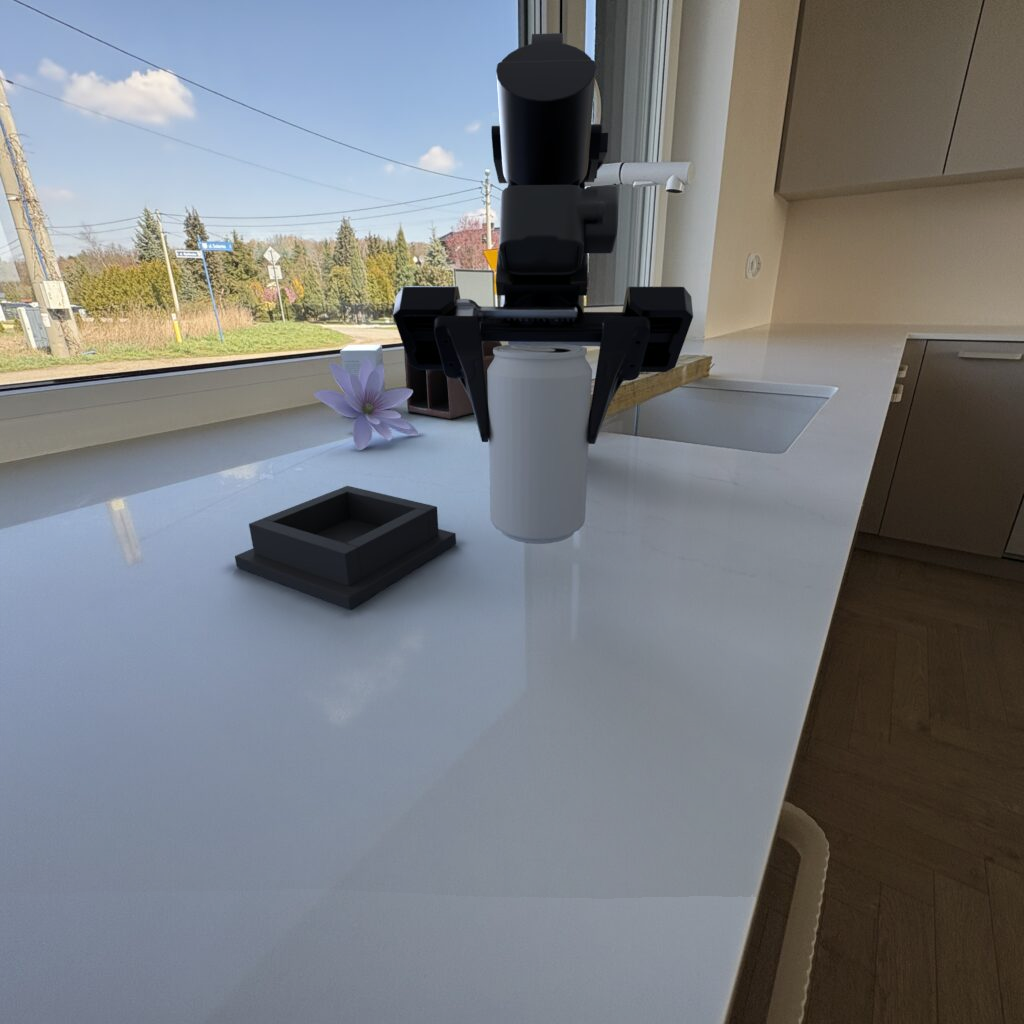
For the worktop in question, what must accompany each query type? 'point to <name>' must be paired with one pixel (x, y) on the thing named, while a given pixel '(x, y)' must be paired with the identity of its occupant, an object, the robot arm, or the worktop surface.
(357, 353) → the small box
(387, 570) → the socket pad
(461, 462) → the worktop surface
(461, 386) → the letter holder
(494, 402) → the beverage can
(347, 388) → the water lily
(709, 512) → the worktop surface
